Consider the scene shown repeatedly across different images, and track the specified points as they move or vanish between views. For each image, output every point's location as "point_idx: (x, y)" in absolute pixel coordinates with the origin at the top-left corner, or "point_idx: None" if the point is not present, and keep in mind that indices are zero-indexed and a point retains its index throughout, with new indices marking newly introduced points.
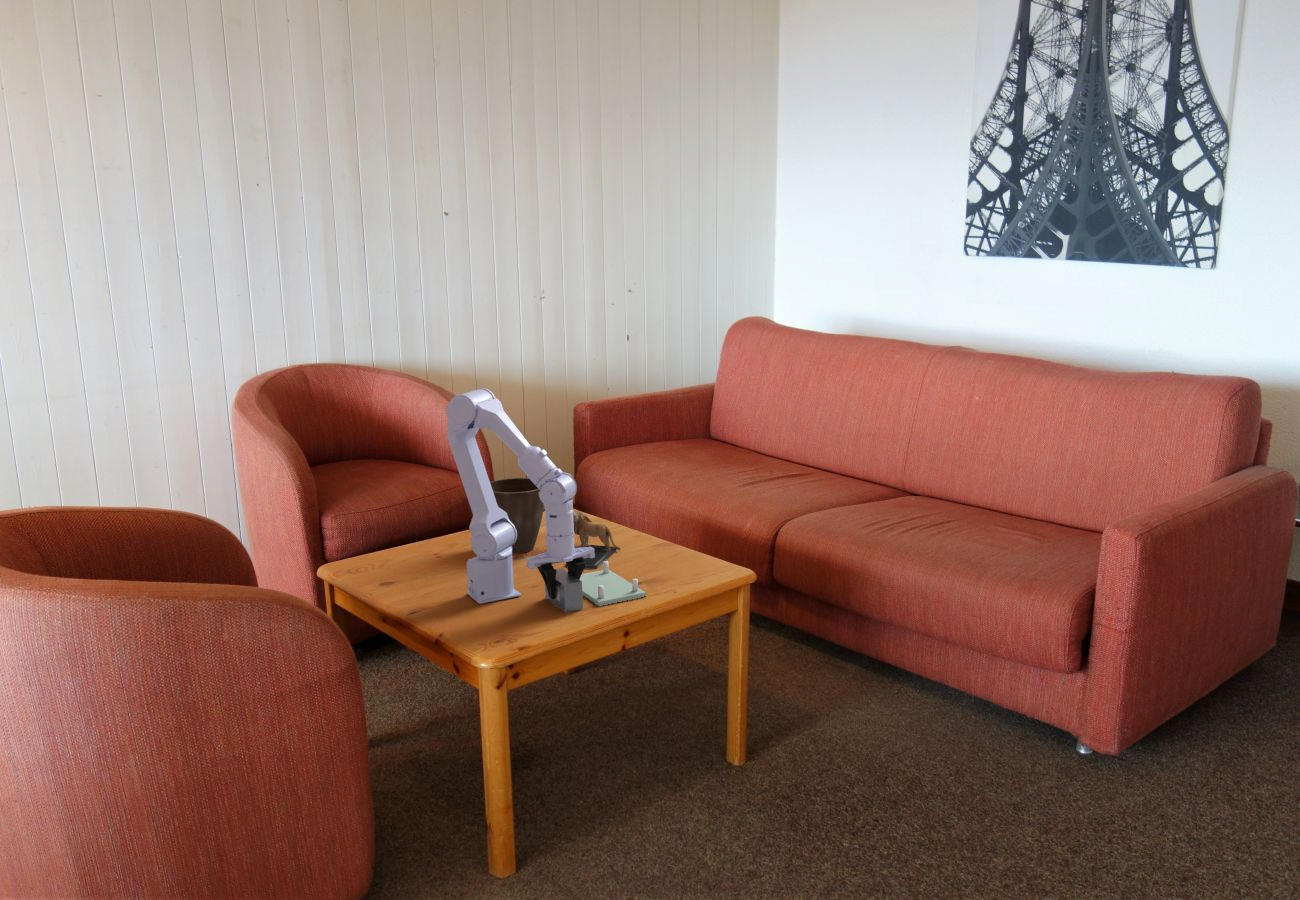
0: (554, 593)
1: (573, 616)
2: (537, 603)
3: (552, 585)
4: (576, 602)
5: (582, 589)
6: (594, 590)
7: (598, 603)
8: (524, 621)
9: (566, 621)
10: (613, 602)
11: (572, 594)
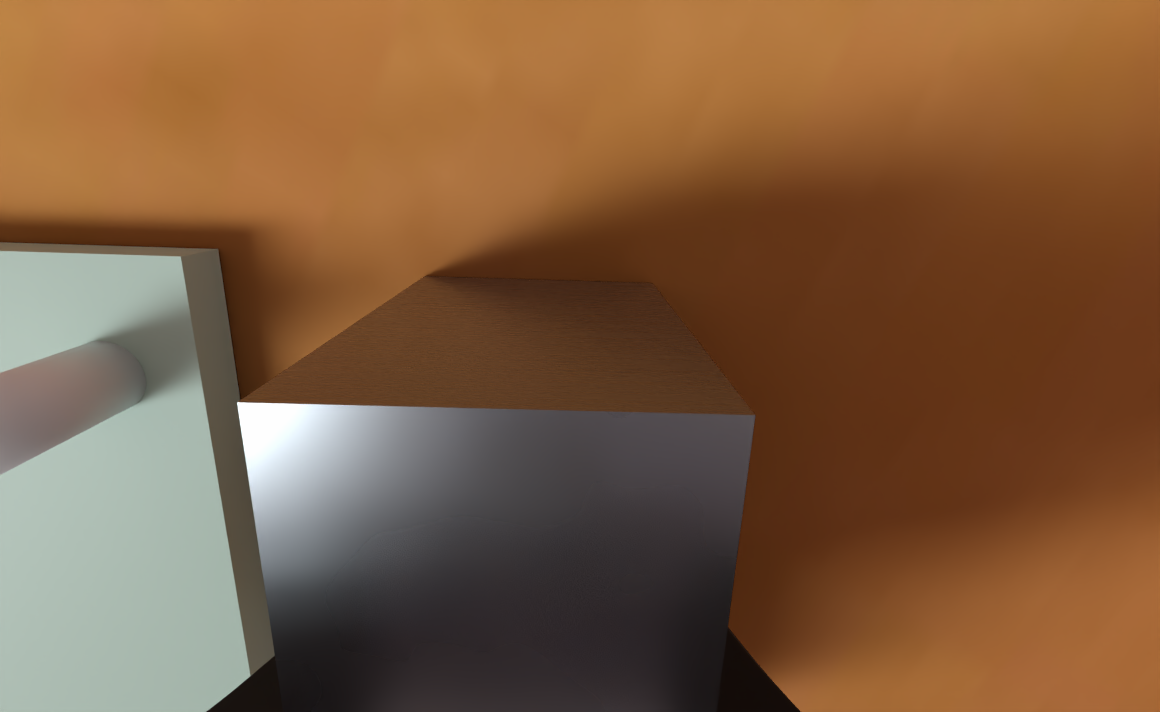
0: None
1: (622, 120)
2: None
3: (753, 694)
4: (490, 298)
5: None
6: (119, 614)
7: (198, 264)
8: (1141, 296)
9: (778, 2)
10: (5, 245)
11: (540, 331)
